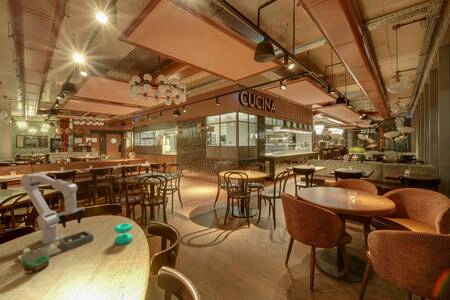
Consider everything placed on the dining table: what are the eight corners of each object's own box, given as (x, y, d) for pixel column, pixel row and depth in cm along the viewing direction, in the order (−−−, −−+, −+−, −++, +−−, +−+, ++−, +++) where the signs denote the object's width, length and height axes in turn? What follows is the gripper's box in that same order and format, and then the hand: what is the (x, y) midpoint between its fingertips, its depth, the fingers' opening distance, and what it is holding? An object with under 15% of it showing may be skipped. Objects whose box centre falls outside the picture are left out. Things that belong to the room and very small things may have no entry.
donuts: (110, 227, 125) (123, 221, 134) (111, 243, 125) (124, 236, 135) (123, 230, 122) (135, 223, 131) (123, 246, 122) (136, 238, 132)
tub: (59, 244, 124) (59, 239, 124) (85, 235, 136) (85, 230, 136) (66, 250, 118) (66, 244, 118) (93, 240, 130) (93, 234, 130)
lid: (17, 259, 109) (17, 249, 109) (53, 247, 122) (52, 237, 122) (24, 267, 103) (23, 256, 103) (61, 253, 115) (60, 243, 115)
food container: (31, 278, 95) (30, 257, 94) (21, 276, 96) (20, 255, 95) (58, 262, 107) (57, 243, 106) (48, 260, 108) (47, 242, 107)
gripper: (58, 208, 119) (60, 230, 119) (86, 201, 131) (87, 222, 131) (54, 205, 123) (55, 228, 123) (81, 199, 135) (82, 219, 135)
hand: (71, 224), depth 128 cm, fingers open, 7 cm apart
